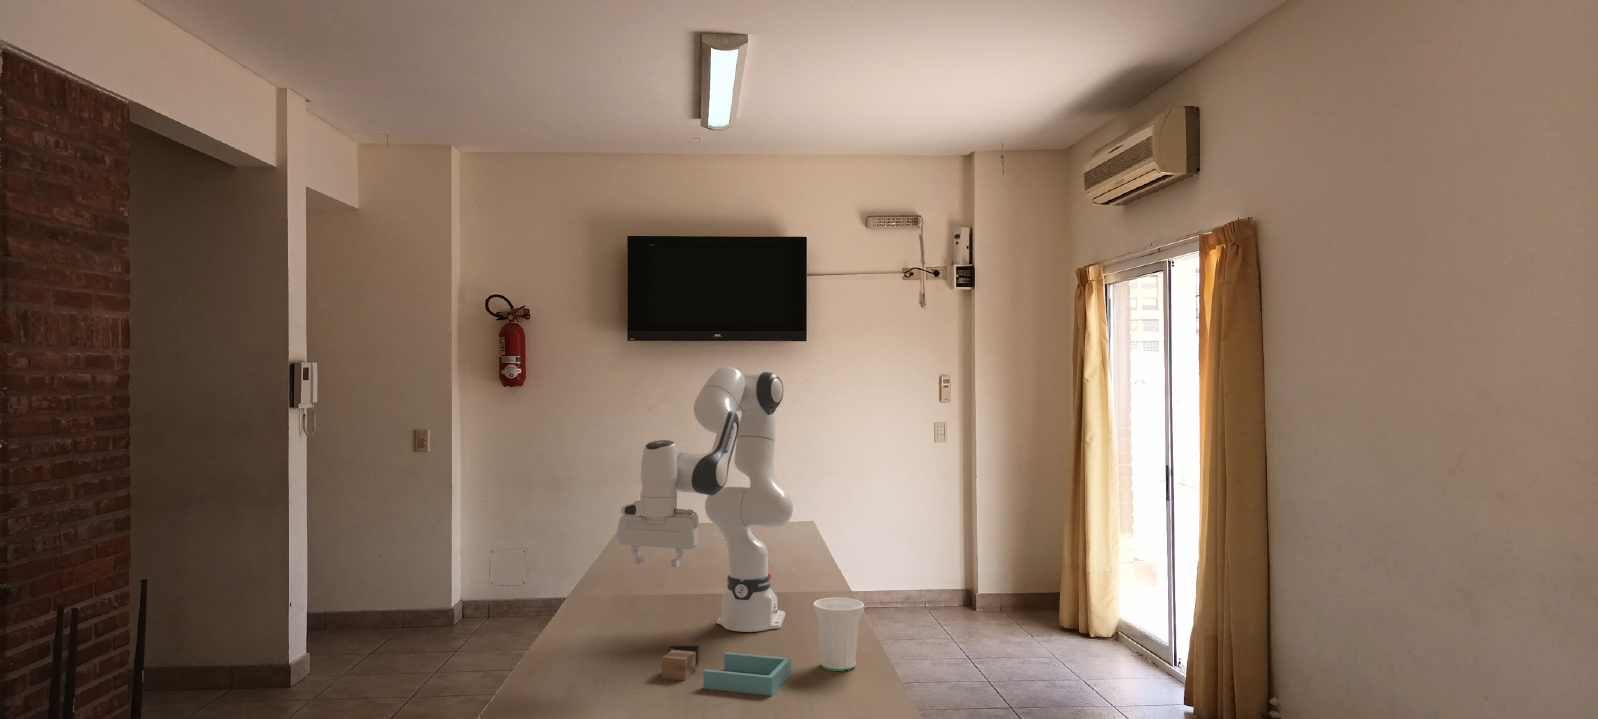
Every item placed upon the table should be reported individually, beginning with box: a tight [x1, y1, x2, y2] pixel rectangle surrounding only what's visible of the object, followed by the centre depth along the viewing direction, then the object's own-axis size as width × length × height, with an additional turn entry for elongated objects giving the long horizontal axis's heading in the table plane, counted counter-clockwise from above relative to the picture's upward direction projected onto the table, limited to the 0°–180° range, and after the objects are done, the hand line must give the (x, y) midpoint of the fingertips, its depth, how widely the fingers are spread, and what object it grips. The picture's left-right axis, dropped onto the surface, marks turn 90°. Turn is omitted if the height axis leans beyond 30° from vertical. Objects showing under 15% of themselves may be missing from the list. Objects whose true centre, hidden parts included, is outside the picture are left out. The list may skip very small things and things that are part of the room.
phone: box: [667, 645, 701, 668], centre depth 231 cm, size 8×1×15 cm
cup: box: [812, 596, 865, 672], centre depth 225 cm, size 12×12×15 cm
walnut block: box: [661, 650, 697, 681], centre depth 218 cm, size 6×6×5 cm
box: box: [702, 651, 792, 697], centre depth 214 cm, size 14×16×4 cm
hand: (657, 565), depth 222 cm, fingers open, 8 cm apart
